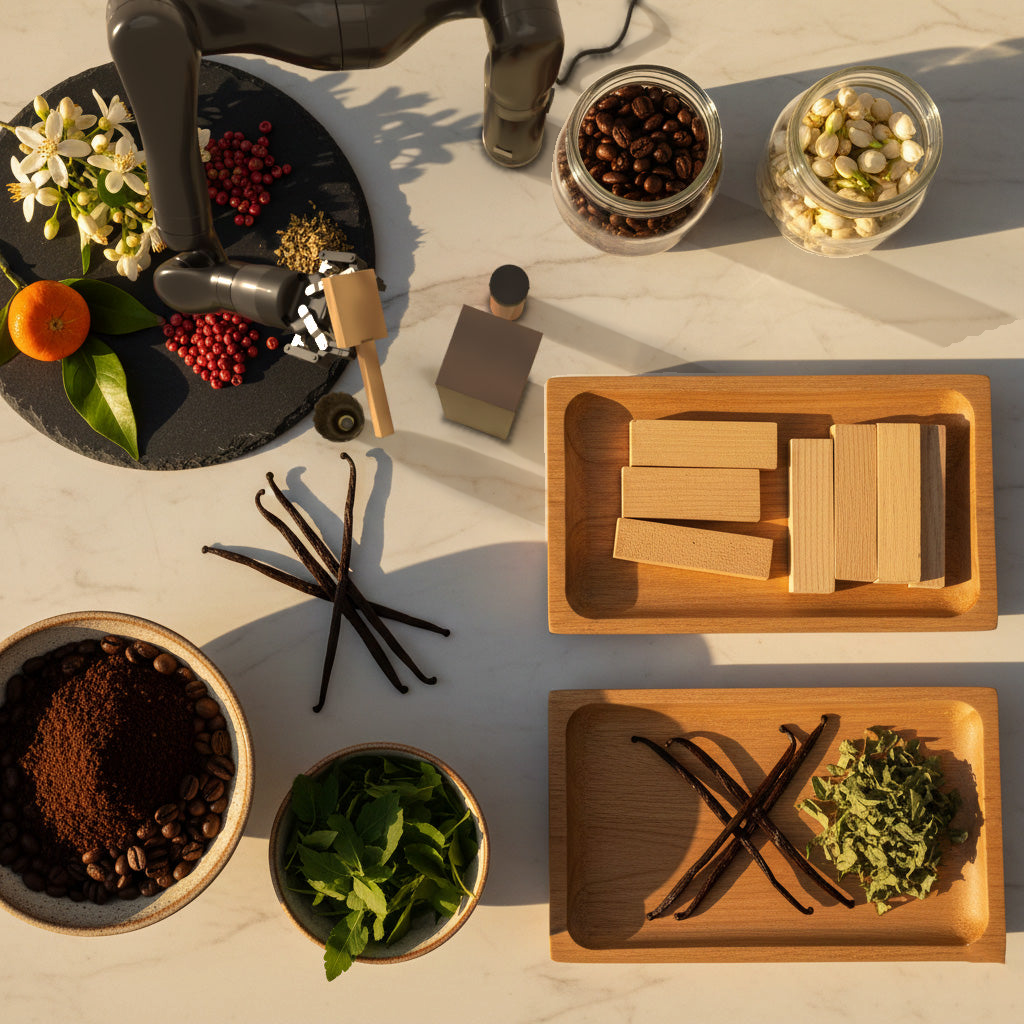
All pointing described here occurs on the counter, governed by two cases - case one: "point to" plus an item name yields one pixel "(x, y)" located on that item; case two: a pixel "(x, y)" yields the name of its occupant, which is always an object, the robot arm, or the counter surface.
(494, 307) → the spice jar
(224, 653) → the counter surface
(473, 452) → the counter surface
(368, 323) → the spatula
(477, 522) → the counter surface
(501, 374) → the pedestal
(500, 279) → the jar lid
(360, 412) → the brown funnel
